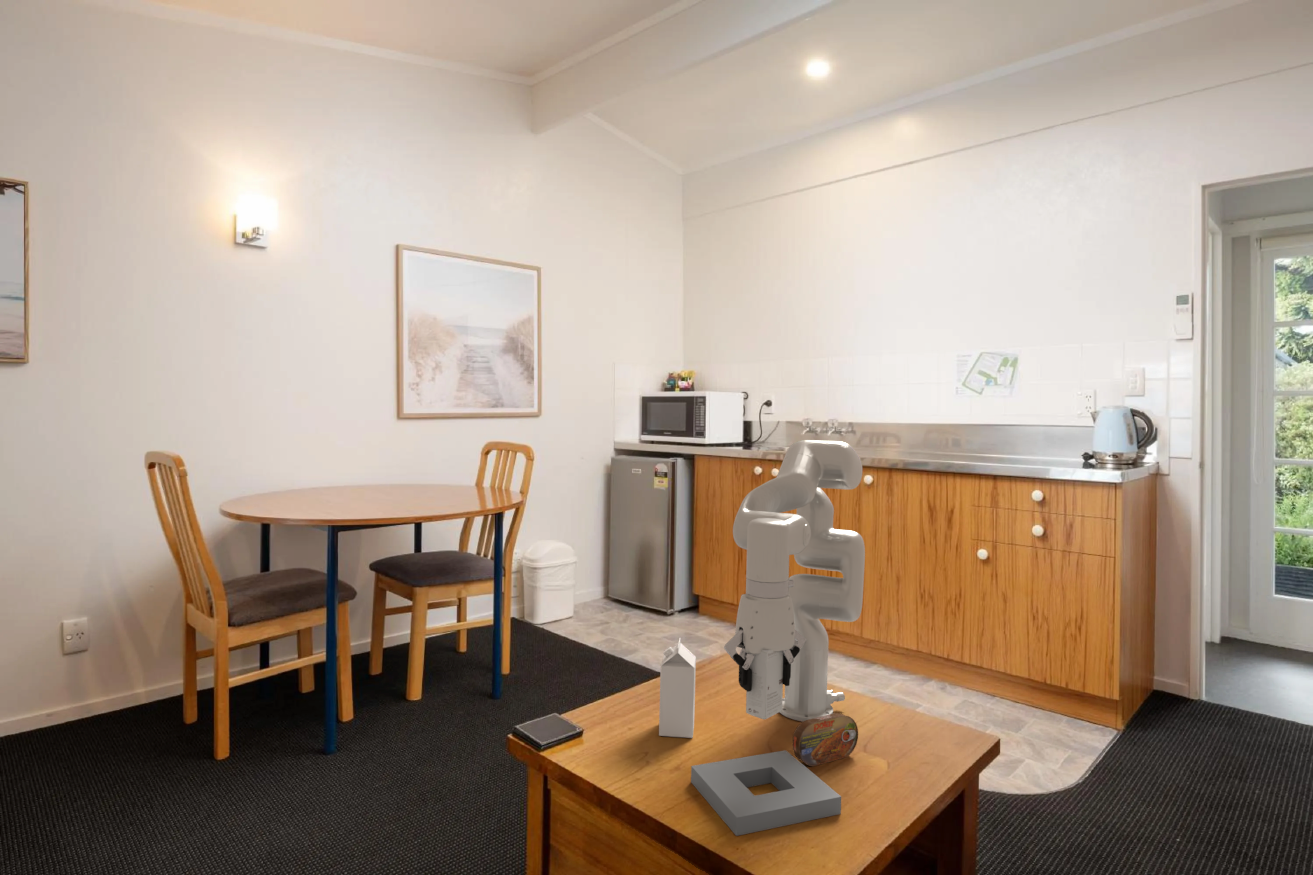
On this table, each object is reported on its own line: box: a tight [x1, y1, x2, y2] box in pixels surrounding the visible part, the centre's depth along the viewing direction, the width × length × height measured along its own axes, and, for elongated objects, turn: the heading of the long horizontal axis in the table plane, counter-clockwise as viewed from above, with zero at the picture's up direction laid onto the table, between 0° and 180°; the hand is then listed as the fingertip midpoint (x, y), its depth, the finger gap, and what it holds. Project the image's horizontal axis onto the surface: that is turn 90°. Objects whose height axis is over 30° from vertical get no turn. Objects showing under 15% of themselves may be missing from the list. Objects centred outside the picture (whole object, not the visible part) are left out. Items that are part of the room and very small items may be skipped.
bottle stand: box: [690, 749, 842, 837], centre depth 128 cm, size 20×18×3 cm
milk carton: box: [658, 637, 697, 739], centre depth 155 cm, size 7×7×19 cm
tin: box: [792, 712, 859, 767], centre depth 144 cm, size 15×3×8 cm, turn 117°
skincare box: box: [745, 650, 784, 720], centre depth 130 cm, size 6×4×12 cm
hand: (764, 685), depth 130 cm, fingers closed on skincare box, 7 cm apart
